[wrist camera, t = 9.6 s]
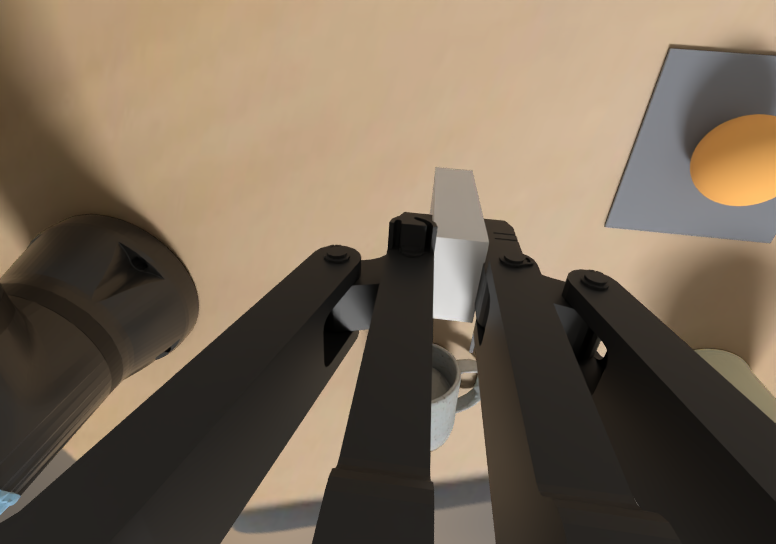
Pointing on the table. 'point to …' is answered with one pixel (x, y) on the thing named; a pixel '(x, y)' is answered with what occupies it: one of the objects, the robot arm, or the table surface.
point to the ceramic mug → (448, 393)
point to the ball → (737, 161)
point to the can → (741, 378)
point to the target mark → (679, 139)
